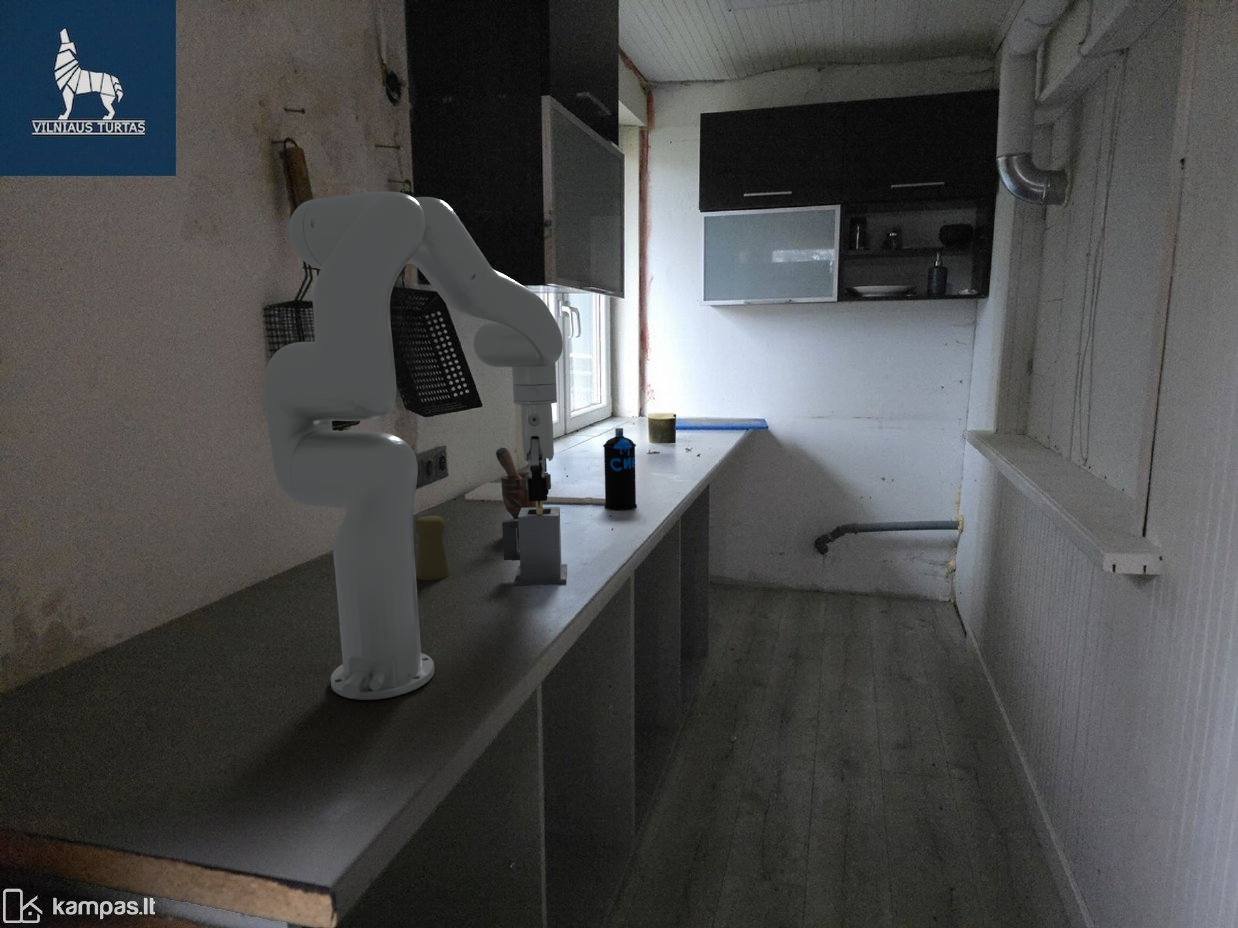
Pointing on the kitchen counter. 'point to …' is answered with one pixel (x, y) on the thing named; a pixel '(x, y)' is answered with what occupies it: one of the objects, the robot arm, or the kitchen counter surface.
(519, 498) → the mortar and pestle
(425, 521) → the cork
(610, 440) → the aerosol can
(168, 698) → the kitchen counter surface
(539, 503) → the plunger
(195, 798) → the kitchen counter surface
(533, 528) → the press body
